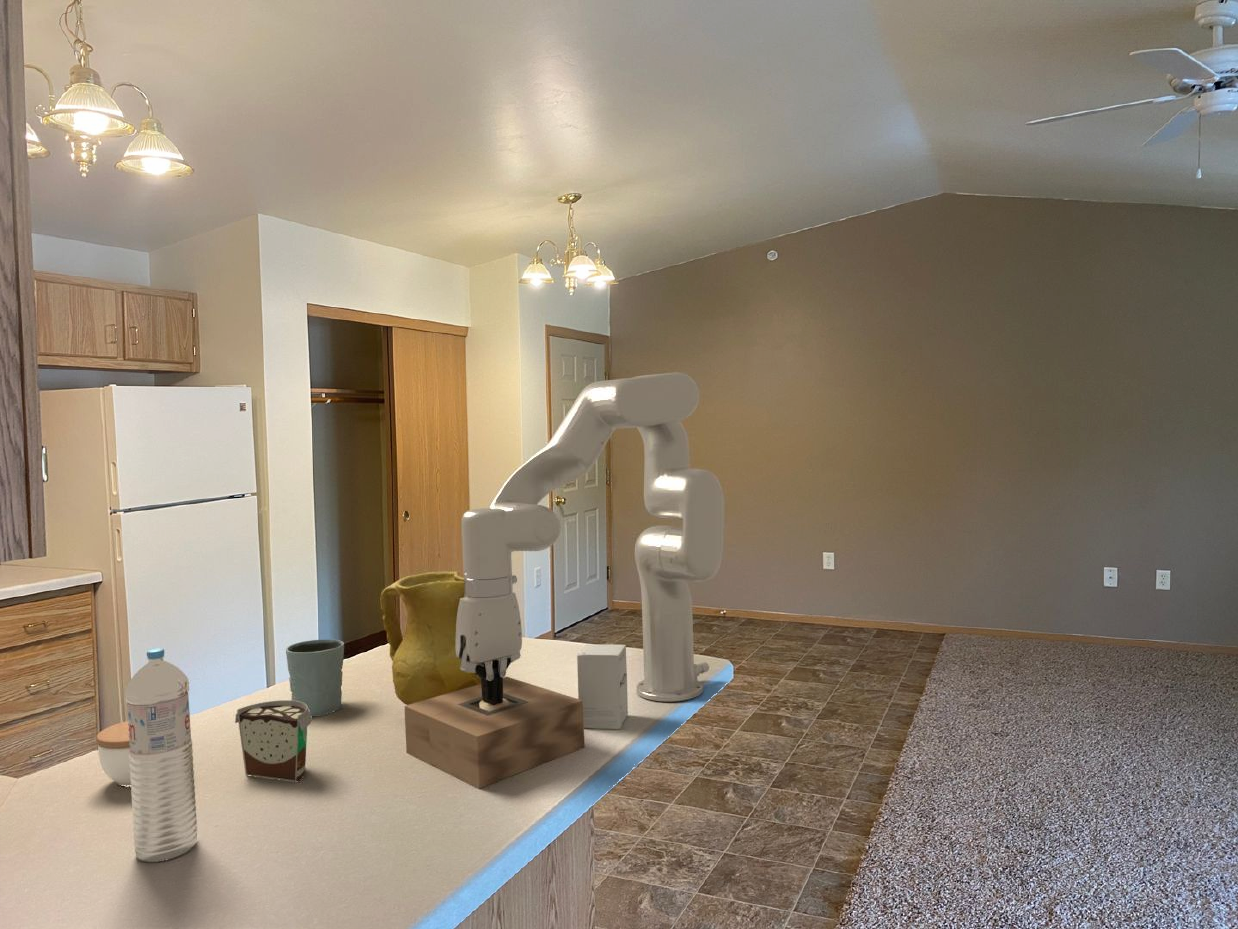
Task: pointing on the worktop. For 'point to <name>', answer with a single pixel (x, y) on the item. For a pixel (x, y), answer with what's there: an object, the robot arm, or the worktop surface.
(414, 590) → the pitcher
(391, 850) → the worktop surface
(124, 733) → the lidded jar
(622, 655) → the supplement box
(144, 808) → the water bottle
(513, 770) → the peg block
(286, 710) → the food container
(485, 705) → the peg
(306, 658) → the grey-green cup
